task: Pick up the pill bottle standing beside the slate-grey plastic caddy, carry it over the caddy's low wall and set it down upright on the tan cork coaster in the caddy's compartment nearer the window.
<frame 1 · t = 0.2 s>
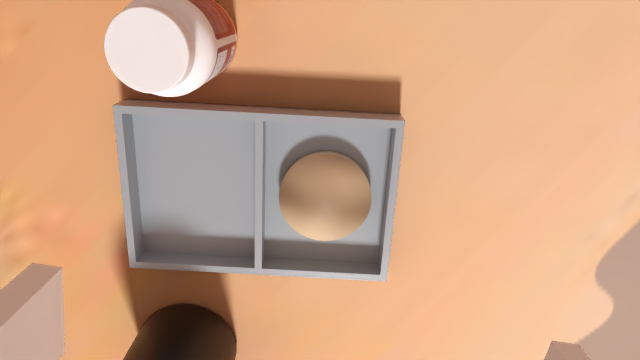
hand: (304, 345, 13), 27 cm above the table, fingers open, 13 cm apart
pill bottle: (199, 38, 36), on the table
caddy: (262, 187, 40), on the table
coaster: (325, 193, 40), resting on caddy
mug: (190, 352, 47), on the table
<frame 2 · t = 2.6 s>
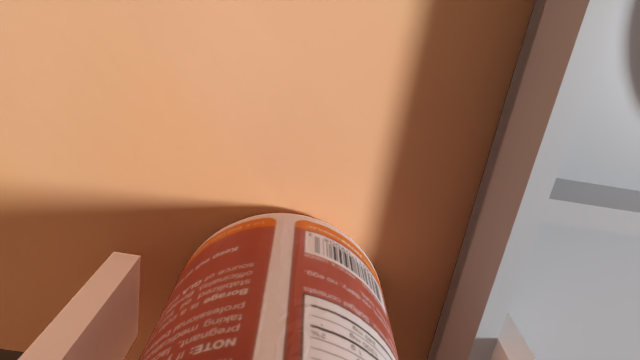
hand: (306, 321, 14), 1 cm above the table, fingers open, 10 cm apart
pill bottle: (284, 292, 15), on the table
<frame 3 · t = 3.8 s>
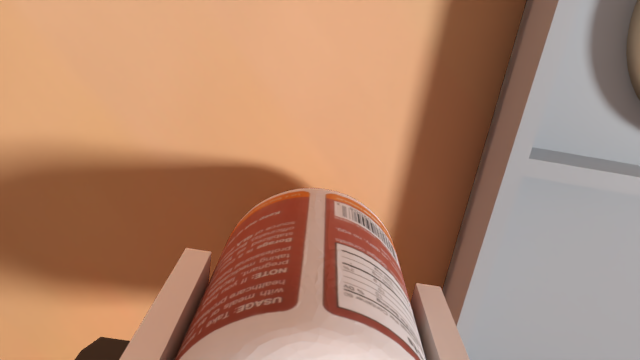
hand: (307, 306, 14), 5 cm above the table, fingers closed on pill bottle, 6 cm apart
pill bottle: (312, 258, 17), point 2 cm above the table, touching gripper
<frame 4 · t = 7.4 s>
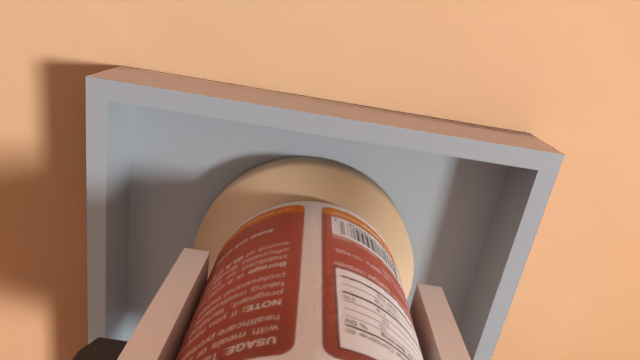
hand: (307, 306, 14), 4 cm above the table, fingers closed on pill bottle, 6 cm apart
pill bottle: (307, 274, 16), point 2 cm above the table, touching coaster, gripper
caddy: (285, 359, 20), on the table
coaster: (304, 254, 17), resting on caddy
when the fingers open (3 cm above the table, at t = 7.9 s): pill bottle stays where it is, resting on coaster.
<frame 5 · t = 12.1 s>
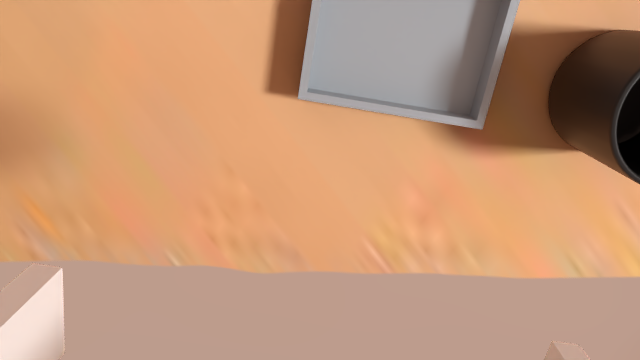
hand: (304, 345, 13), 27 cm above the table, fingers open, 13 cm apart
mug: (622, 94, 37), on the table
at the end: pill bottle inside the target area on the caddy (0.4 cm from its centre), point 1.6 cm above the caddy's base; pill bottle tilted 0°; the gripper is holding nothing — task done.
